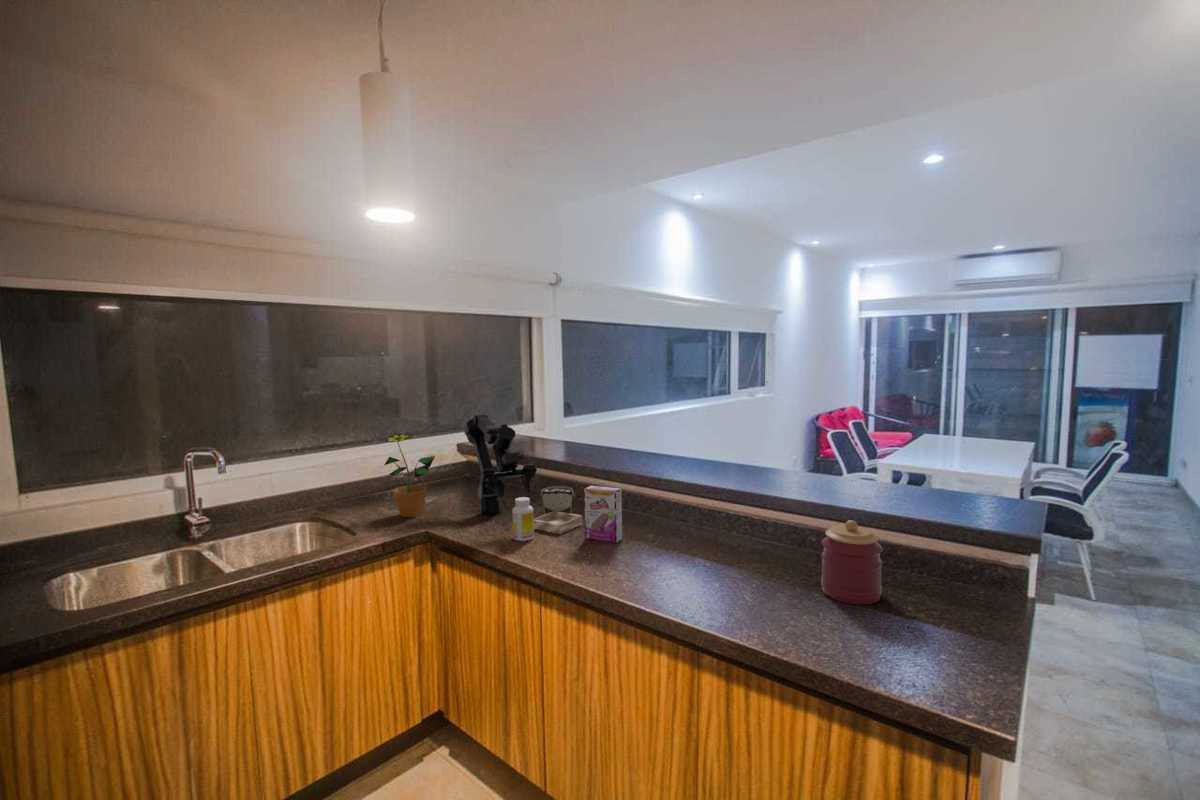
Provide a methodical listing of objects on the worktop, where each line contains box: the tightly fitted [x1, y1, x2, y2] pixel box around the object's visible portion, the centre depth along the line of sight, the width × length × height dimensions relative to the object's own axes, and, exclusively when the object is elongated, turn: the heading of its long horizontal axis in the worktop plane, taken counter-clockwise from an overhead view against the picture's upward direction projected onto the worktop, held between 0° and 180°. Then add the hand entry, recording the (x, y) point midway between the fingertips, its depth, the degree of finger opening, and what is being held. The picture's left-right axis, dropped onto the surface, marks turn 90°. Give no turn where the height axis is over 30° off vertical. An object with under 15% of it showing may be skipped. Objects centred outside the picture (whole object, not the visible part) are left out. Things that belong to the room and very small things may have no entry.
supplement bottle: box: [511, 496, 535, 542], centre depth 171 cm, size 7×7×13 cm
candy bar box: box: [583, 485, 623, 544], centre depth 168 cm, size 11×5×16 cm, turn 65°
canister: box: [820, 519, 883, 606], centre depth 126 cm, size 13×13×18 cm
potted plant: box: [384, 433, 436, 519], centre depth 199 cm, size 18×19×30 cm
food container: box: [540, 485, 575, 515], centre depth 196 cm, size 12×6×10 cm, turn 84°
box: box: [534, 511, 584, 535], centre depth 183 cm, size 12×12×3 cm
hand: (515, 495), depth 176 cm, fingers open, 9 cm apart
